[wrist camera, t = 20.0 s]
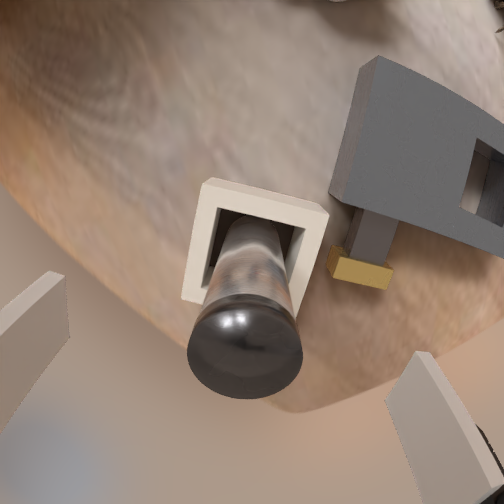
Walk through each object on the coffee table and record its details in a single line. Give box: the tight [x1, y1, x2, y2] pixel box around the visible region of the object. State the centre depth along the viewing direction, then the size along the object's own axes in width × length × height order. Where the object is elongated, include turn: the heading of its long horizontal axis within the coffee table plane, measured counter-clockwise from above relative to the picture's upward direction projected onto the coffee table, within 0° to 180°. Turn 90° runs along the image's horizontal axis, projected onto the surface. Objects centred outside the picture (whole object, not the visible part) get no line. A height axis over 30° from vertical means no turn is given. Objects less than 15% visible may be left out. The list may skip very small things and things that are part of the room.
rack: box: [181, 177, 330, 319], centre depth 22 cm, size 8×8×4 cm
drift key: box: [326, 206, 399, 290], centre depth 20 cm, size 4×14×3 cm, turn 166°
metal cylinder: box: [187, 215, 303, 399], centre depth 17 cm, size 4×4×14 cm
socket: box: [328, 55, 504, 259], centre depth 19 cm, size 16×10×4 cm, turn 76°
